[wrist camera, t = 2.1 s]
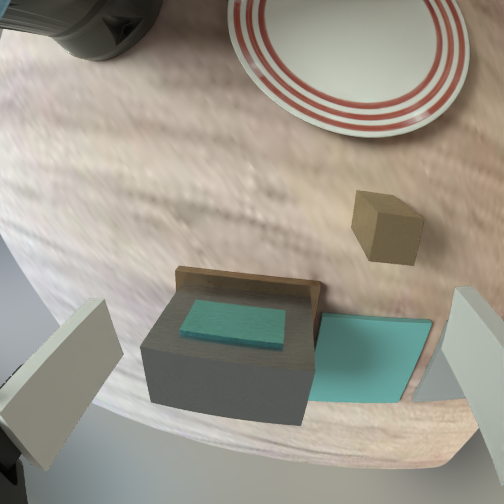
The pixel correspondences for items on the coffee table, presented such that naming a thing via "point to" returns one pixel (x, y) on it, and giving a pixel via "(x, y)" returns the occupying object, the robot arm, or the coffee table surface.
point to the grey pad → (438, 378)
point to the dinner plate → (354, 60)
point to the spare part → (386, 228)
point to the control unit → (234, 346)
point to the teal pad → (365, 357)
